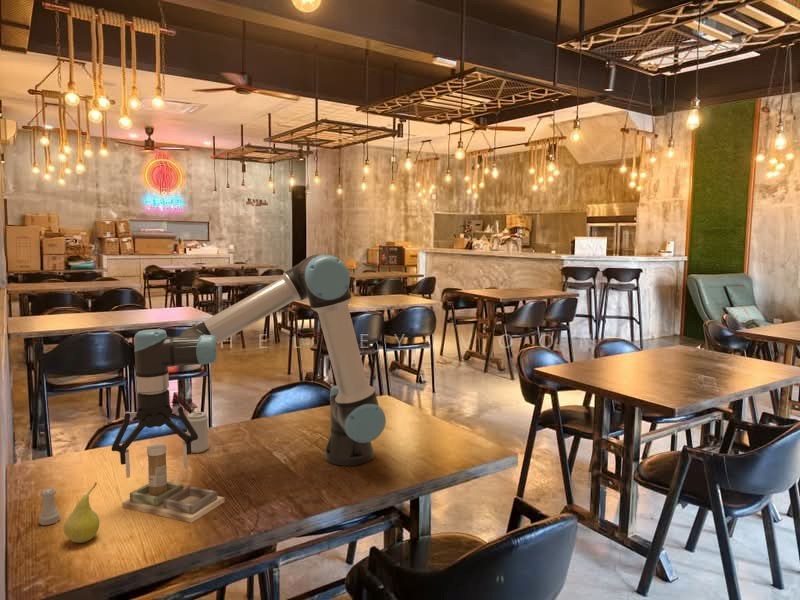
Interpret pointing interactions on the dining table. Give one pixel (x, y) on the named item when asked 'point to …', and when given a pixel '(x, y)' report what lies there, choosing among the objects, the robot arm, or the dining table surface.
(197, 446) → the beverage can
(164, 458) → the sprinkles bottle
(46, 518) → the rook chess piece
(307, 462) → the dining table surface
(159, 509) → the board
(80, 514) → the fruit
